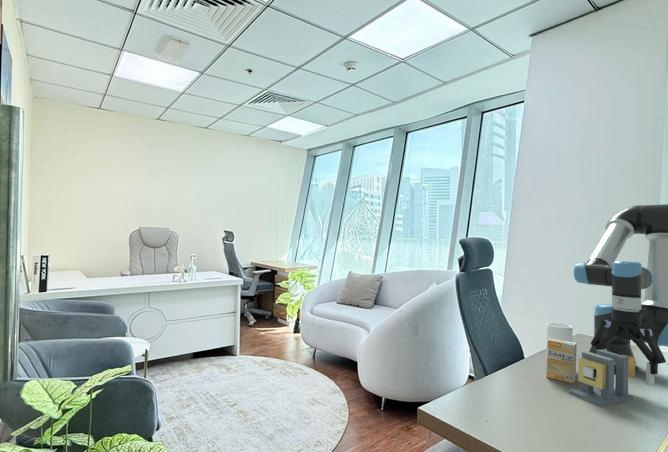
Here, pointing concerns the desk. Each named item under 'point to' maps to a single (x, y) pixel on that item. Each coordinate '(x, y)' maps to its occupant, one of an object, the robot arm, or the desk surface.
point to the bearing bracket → (607, 380)
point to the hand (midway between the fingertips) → (625, 376)
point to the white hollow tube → (558, 333)
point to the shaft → (631, 369)
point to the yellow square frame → (600, 373)
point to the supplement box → (561, 360)
